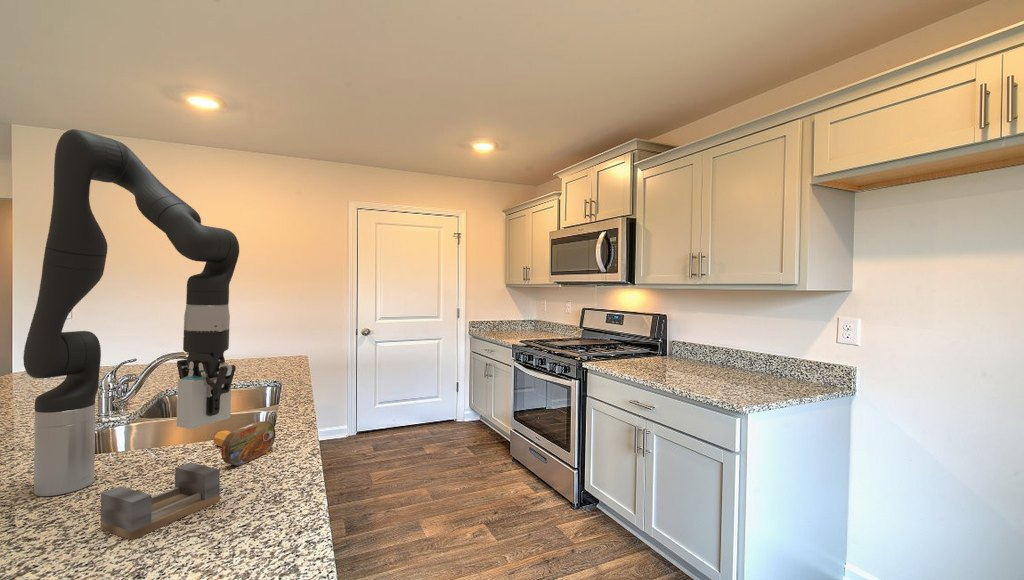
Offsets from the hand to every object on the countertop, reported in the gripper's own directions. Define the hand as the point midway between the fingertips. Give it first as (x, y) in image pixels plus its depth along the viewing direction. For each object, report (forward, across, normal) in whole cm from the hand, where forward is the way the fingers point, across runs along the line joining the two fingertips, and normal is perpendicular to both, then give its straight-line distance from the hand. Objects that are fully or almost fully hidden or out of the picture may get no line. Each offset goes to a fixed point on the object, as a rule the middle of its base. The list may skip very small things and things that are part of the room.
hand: (204, 412), depth 90 cm
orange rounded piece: (+20, -20, +25) cm, 37 cm away
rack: (+19, -3, -5) cm, 19 cm away
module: (+2, 0, 0) cm, 2 cm away
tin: (+19, -13, +21) cm, 31 cm away
